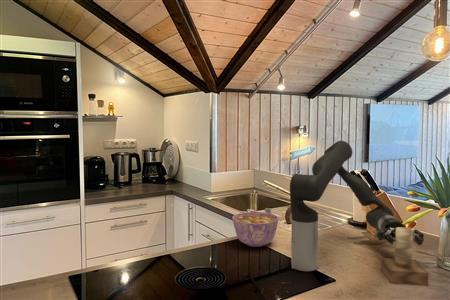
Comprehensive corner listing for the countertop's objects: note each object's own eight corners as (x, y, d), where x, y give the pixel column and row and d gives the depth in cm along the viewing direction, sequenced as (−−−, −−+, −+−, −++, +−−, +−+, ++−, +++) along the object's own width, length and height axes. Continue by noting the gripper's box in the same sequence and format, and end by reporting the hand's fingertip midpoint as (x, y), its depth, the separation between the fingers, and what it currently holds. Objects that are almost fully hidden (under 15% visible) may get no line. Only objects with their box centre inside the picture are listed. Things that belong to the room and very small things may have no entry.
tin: (298, 218, 191) (298, 203, 191) (303, 219, 189) (303, 203, 189) (284, 224, 180) (284, 208, 179) (289, 225, 178) (289, 209, 177)
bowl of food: (260, 255, 136) (260, 226, 135) (222, 244, 150) (222, 218, 149) (287, 242, 151) (287, 216, 150) (251, 233, 164) (251, 209, 164)
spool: (397, 267, 114) (398, 231, 113) (392, 261, 119) (393, 226, 118) (414, 268, 113) (415, 231, 112) (408, 262, 118) (409, 227, 117)
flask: (266, 225, 177) (266, 206, 176) (278, 228, 172) (278, 208, 171) (257, 228, 172) (257, 209, 171) (269, 231, 167) (269, 211, 166)
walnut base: (390, 282, 112) (391, 270, 111) (381, 268, 122) (381, 257, 122) (428, 285, 110) (428, 272, 109) (415, 270, 120) (415, 259, 120)
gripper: (371, 216, 130) (383, 229, 114) (411, 218, 128) (430, 231, 112) (370, 236, 131) (382, 251, 115) (411, 238, 128) (429, 254, 112)
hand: (406, 241), depth 113 cm, fingers open, 8 cm apart
